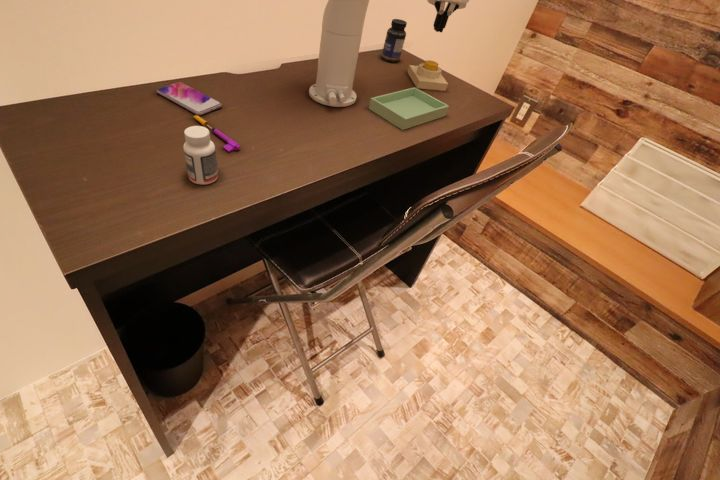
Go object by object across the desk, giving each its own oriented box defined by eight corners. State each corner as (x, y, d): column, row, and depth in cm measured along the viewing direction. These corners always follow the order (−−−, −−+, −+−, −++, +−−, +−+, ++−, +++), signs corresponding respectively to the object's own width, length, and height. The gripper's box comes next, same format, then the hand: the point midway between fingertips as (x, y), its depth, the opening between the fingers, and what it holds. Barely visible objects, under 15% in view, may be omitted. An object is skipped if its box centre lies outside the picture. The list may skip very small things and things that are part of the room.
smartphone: (198, 113, 80) (155, 89, 85) (199, 117, 80) (155, 93, 85) (223, 103, 84) (180, 81, 89) (223, 107, 85) (181, 84, 90)
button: (438, 72, 108) (440, 66, 107) (425, 71, 107) (427, 64, 106) (434, 67, 111) (436, 61, 109) (421, 65, 110) (423, 59, 109)
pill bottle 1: (220, 170, 68) (216, 125, 62) (215, 186, 65) (210, 141, 58) (191, 167, 68) (184, 122, 61) (185, 184, 64) (176, 137, 58)
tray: (411, 97, 102) (414, 87, 100) (445, 116, 96) (449, 105, 94) (368, 108, 94) (370, 97, 92) (402, 130, 88) (405, 119, 86)
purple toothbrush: (242, 149, 73) (197, 117, 80) (240, 144, 72) (195, 112, 79) (231, 155, 73) (187, 122, 79) (230, 150, 72) (185, 118, 78)
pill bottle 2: (377, 56, 122) (386, 17, 113) (392, 55, 124) (402, 18, 116) (387, 63, 118) (396, 24, 110) (402, 62, 120) (413, 24, 112)
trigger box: (445, 91, 108) (450, 77, 105) (416, 88, 107) (421, 74, 104) (434, 75, 116) (438, 61, 113) (407, 72, 115) (411, 58, 112)
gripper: (441, -58, 85) (415, 31, 99) (499, -48, 87) (466, 38, 101) (432, -63, 90) (409, 23, 104) (487, -53, 92) (458, 30, 106)
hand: (437, 30), depth 102 cm, fingers closed
